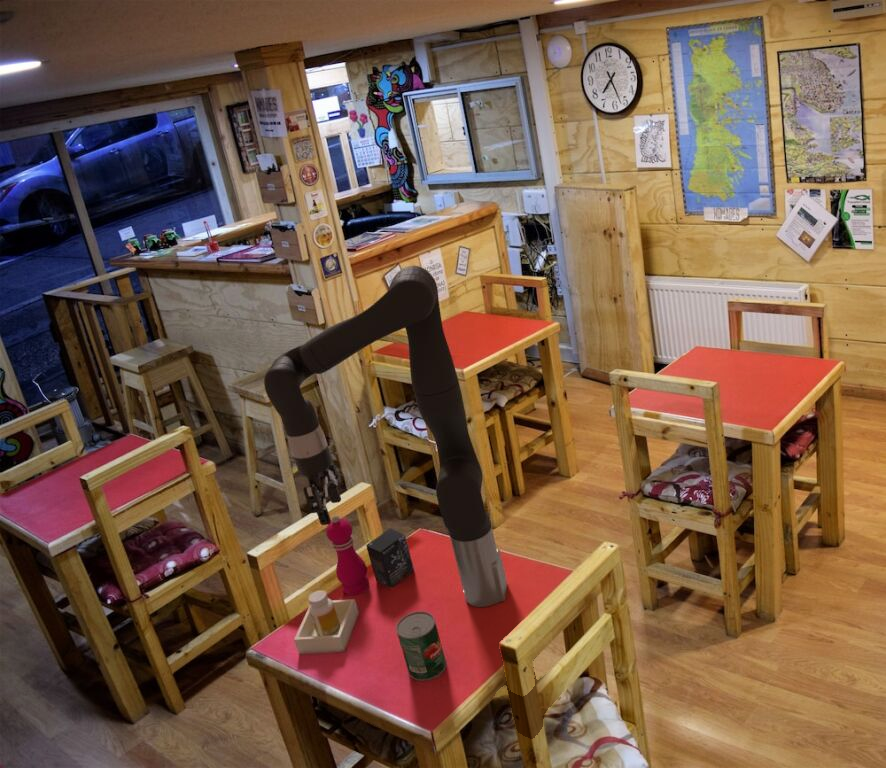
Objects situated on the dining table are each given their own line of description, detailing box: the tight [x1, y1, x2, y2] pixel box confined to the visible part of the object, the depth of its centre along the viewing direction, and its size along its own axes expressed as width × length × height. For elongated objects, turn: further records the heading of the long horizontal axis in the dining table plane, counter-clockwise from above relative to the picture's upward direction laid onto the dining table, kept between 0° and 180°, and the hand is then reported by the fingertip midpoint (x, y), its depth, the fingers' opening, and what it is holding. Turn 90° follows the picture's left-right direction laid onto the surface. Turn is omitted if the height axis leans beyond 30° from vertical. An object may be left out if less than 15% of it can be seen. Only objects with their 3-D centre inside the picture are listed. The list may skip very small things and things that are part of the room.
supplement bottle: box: [308, 590, 340, 636], centre depth 193 cm, size 5×5×10 cm
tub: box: [293, 598, 360, 655], centre depth 194 cm, size 10×12×4 cm
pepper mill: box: [325, 514, 370, 596], centre depth 205 cm, size 7×7×20 cm
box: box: [365, 528, 415, 589], centre depth 207 cm, size 8×6×11 cm
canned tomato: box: [395, 610, 447, 682], centre depth 176 cm, size 8×8×11 cm
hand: (331, 512), depth 190 cm, fingers open, 8 cm apart
